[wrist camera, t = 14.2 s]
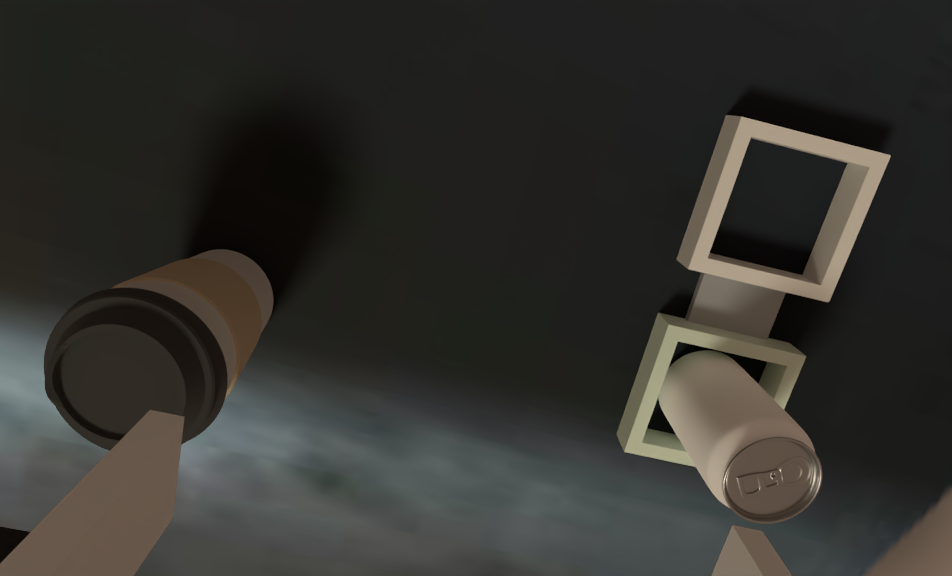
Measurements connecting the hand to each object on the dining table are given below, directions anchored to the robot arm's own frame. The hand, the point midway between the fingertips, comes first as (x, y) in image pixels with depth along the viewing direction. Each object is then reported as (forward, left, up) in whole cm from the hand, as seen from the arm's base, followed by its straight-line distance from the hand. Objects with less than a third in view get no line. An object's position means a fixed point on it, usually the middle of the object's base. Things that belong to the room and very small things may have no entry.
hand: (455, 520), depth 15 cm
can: (+7, +20, -31) cm, 37 cm away
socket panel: (0, +20, -31) cm, 36 cm away
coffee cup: (+8, -15, -31) cm, 35 cm away
